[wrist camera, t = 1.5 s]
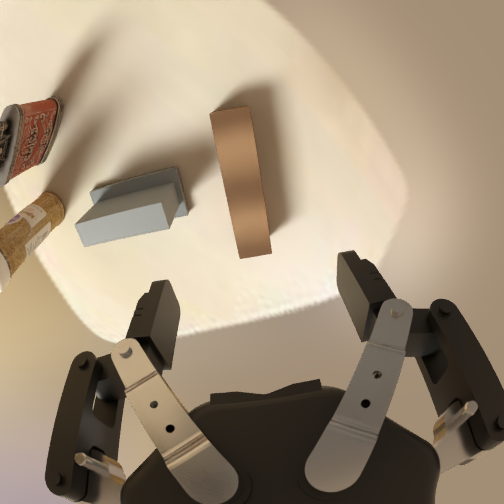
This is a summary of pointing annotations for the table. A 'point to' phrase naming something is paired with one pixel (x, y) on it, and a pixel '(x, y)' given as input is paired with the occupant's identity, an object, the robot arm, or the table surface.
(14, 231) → the sprinkles bottle
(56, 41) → the table surface
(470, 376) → the robot arm
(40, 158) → the lighter
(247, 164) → the walnut bar
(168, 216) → the fulcrum
